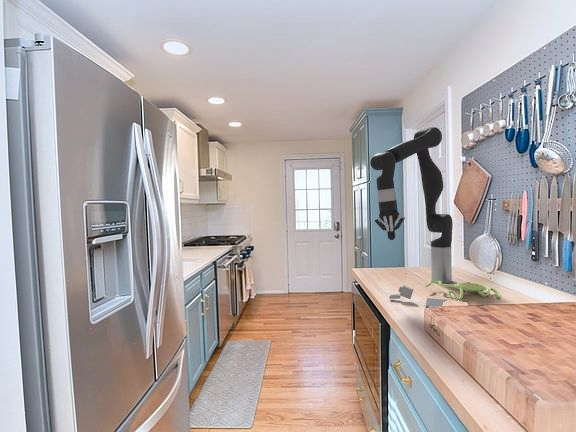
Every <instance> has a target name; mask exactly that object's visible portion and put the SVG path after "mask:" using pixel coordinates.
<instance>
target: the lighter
mask: <svg viewBox="0 0 576 432" xmlns="http://www.w3.org/2000/svg"><path fill="white" fill-rule="evenodd" d="M414 290H415V289H414V288H412V287H409V286H406V285H402V286H400V287H399V288H398V293H399V294H398V293H396V294H395V293H394V294H393V293H391V294H389V297H388V298H389V300H392V299H393V300H394V299H395V300H396V299H397V300H398V299H401V297H403V298H405V299H408V300H411V298H412V296H413V293H414Z"/></svg>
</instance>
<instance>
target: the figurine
mask: <svg viewBox="0 0 576 432" xmlns="http://www.w3.org/2000/svg"><path fill="white" fill-rule="evenodd" d="M432 284H438V286H440V287H443V288H455V289H457V290H459V297H458V296H456V293H455V292H454V291H453V290H451V289H450V290H447V293H448V295H449V297H450V299H451V300H454V298H455V299H456V301H458V300H459V301H462V299H463V298H464V295H466V296H467V295H468V294H469V293H471V292H472V293H474V295H475V294H476V293H478V294H479V295H480V296H482V297H487V296H488V295H489V294H490V292H491V291H492V292H494V294H493V296H494V297H495V298H496V299H500V298H502V295H501V293H500V292H499V291H498V290H497V289H495V288H493V287H490V288H488V289H487V286H485V285H482V284H478V283H476V282H475V283H474V282H473V283H472V282H469V281H468V282H461V283H460V282H459V283H458V282H457V283H455V284H448V283H442V282H441V281H432V280H430V281H428V283H427V284H425V288H428V287H430V286H431V285H432ZM484 291H487V292H486V294H485V293H484ZM452 294H453V296H454V298H453V296H452Z"/></svg>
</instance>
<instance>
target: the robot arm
mask: <svg viewBox="0 0 576 432" xmlns="http://www.w3.org/2000/svg"><path fill="white" fill-rule="evenodd" d="M442 140H443V133H442V131H441V130H440V128H439V127H434V126H432V127H431V126H430V127H425V128H421V129H418V130H416V131H415V132H414V134H413V139H409V140H406V141H404V142H403V141H402V142H401V143H398V144H395V145H394V146H393V147H391V148H389V149H387V150H384V151H381V152H378V153H375V154H374V155H373V156H372V157H371V159H370V161H369V165H370V167H371V168H372V169H373V170H375V171H381V175H379V176H377V178H376V181H375V182H376V188H377V189H376V190H377V201H378V202H377V203H378V210H379V214H378V217H377V218H376V219H374V222H375V223H376V224H377V225H378V227H379V228H380V229H381V230H382V231H385V232H386V233H387V238H388V240H389V241H395V239H396V230H398V229H399V228H400V227H401V225H402V224H403V222H404V221H405V220H406V217H404V216H402V215H400V212H399V210H398V202H397V194H396V193H397V192H396V189H395V183H394V182H395V181H394V177H395V170H396V165H397V163H400V162H402V161H404V160H405V159H407V158H409V157H412V156H413V155H416V157H417V160H418V165H419V172H420V176H421V178H420V179H421V185H422V190H423V191H422V192H423V195H424V198H423V199H424V204H425V217H426V218H425V219H426V220H425V221H426V226H427V230H428V231H429V232H431V233H437V234H438V233H439V234H441V235H440V237H438V238H435V239H432V240H430V268H431V269H430V272H431V273H430V275H431V280H430V281H441V282H442V284H448V283H452V282H453V270H452V269H453V268H452V266H453V265H452V260H453V259H452V241H453V227H454V226H453V217H452V216H451V214H449V213H437V212H436V209H437V207H436V206H437V203H438V200H439V199H440V196H441V194H442V193H443V190H444V179H443V174H442V171H441V170H440V168H439V167H438V166H437V165H436V163H435V161H433V159H432V158H431V155H430V151H429V149H431V148H432V149H433V148H437V146H439V145H440V144H441V142H442ZM397 221H398V222H397ZM396 222H397V223H396Z"/></svg>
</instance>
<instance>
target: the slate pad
mask: <svg viewBox="0 0 576 432" xmlns="http://www.w3.org/2000/svg"><path fill="white" fill-rule="evenodd" d="M426 298H427V297H426ZM447 300H448V299H445V298H444V299H443V298H433V297H432V298H431V297H428V298H427V299H426V302H425V308H428V307H429V306H442V305H443V302H445V301H447Z"/></svg>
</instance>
